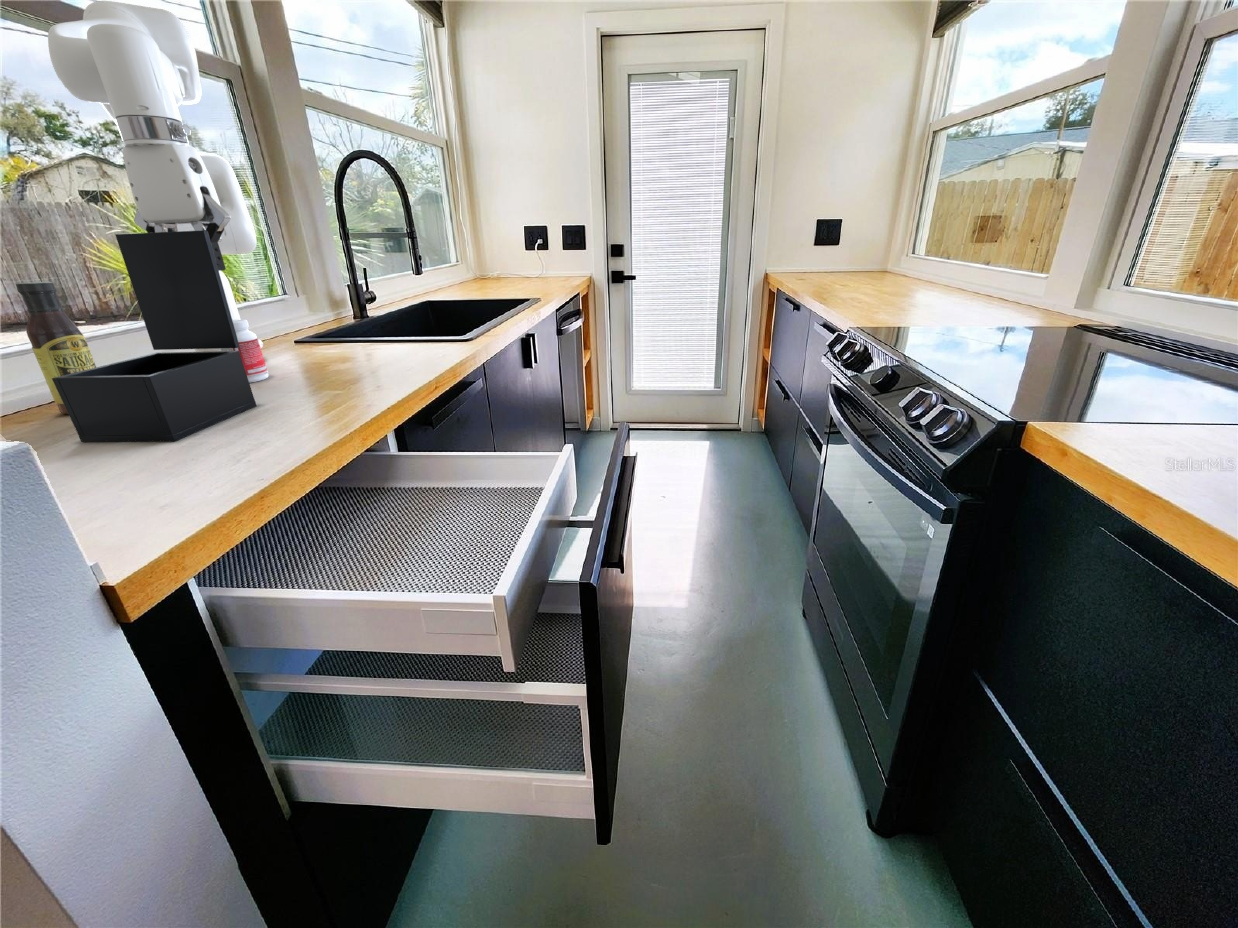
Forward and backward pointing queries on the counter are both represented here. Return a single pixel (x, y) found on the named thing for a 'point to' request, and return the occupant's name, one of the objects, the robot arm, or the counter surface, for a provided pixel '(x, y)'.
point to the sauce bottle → (53, 336)
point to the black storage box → (156, 396)
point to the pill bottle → (249, 352)
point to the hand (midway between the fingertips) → (199, 270)
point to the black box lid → (178, 289)
